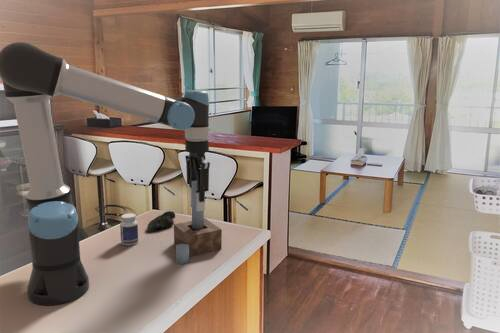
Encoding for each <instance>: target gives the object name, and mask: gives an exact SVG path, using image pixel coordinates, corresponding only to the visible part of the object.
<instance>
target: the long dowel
mask: <svg viewBox="0 0 500 333" xmlns="http://www.w3.org/2000/svg"><path fill="white" fill-rule="evenodd" d="M191 184H192V207H191V221H192V228H193V229H203V228H204V219H205V210H203V211H196V191H198V189H197V180H193V181H192V182H191Z"/></svg>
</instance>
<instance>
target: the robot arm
mask: <svg viewBox="0 0 500 333" xmlns="http://www.w3.org/2000/svg"><path fill="white" fill-rule="evenodd" d="M0 79H1V81H2V85H3V86H2V87H3V89H4V90H3V91H4V95H5V99H6V100H8V101H10V102H11V103H12V104H13V108H14V112H15V116H16V117H15V118H16V122H17V128H18V132H19V139H20V143H21V147H22V152H23V158H24V163H25V167H26V168H25V169H26V173H27V178H28V183H29V184H28V185H29V188H30V189H29V191H28V192H27V193H26V194H25V199H26V204H27V209H28V215H27V221H26V223H27V229H28V236H29V245H30V246H29V247H30V255H31V262H32V270H31V273H30V277H29V281H28V285H27V298H28V300H29V301H30V302H31V303H33V304H36V305H40V306H56V305H62V304H66V303H70V302H72V301H74V300H76V299H78V298H80V297H82V296H83V295H85V294H86V293H87V292H88V291H89V288H90V280H89V279H90V278H89V275H88V274H87V272H86V269H85V267H84V264H83V263H82V260H81V252H80V251H81V249H80V237H79V236H80V235H79V216H78V213H77V209H76V207H75V206H74V202H73V197H72V192H71V187H70V186H68V185H67V184H65V182H64V180H63V179H64V178H63V173H62V168H61V167H62V166H61V161H60V158H59V157H60V156H59V150H58V146H57V139H56V134H55V132H56V131H55V129H54V122H53V116H52V109H51V104H50V99H51V97H53V98H54V97H57V96H58V95H59V96H60V95H61V96H63V97H64V96H65V97H69V98H72V99H76V100H79V101H82V102H86V103H89V104H93V105H96V106H99V107H103V108H106V109H110V110H113V111H118V112H120V113H123V114H127V115H130V116H133V117H134V116H135V117H137V118H142V119H145V120H147V121H148V122H149V123H153V124H154V123H157V124H161V125H165V126H167V127H171V128H172V129H174V130H178V131H179V130H182V131H183V130H184V138H185V142H184V146H185V149H184V150H185V152H187V153H188V154H186V155H185V163H186V164H185V165H186V166H185V167H186V184H187V185H188V187H189V188H190V189H189V190H190V192H189V193H190V199H189V200H190V202H189V204H190V208H192V184H191V182H192V181H193V180H197V189H198V191H196V211H203V210H204V211H205V210H206V200H205V199H206V198H205V197H206V192H209V190H210V189H209V186H210V185H209V183H210V181H209V179H210V177H209V176H210V166H211V163H210V161H207V160H206V153H208V152H209V150H210V145H209V144H210V141H209V136H210V135H209V133H210V132H209V131H210V128H209V126H210V125H209V122H210V121H209V114H210V113H209V112H210V102H209V100H210V99H209V94H208V92H207V91H206V90H198V89H197V90H195V89H194V90H186V91H185V92H184V95H183V96H182V97H181V96H180V97H169V96H165V95H163V94H158V93H156V92H154V91H149V90H147V89H144V88H140V87H138V86H134V85H131V84H129V83H126V82H123V81H119V80H117V79H113V78H110V77H107V76H103V75H100V74H98V73H95V72H92V71H89V70H85V69H83V68H80V67H76V66H74V65H70V64H68V63H67V61H66V60H65V58H62V57H59V56H56V55H55V54H51V53H49V52H47V51H45V50H43V49H41V48H39V47H37V46H36V45H34V44H32V43H28V42H22V41H17V42H13V43H9V44H7V45H6V46H4V47H3V48H2V49H1V50H0Z"/></svg>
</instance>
